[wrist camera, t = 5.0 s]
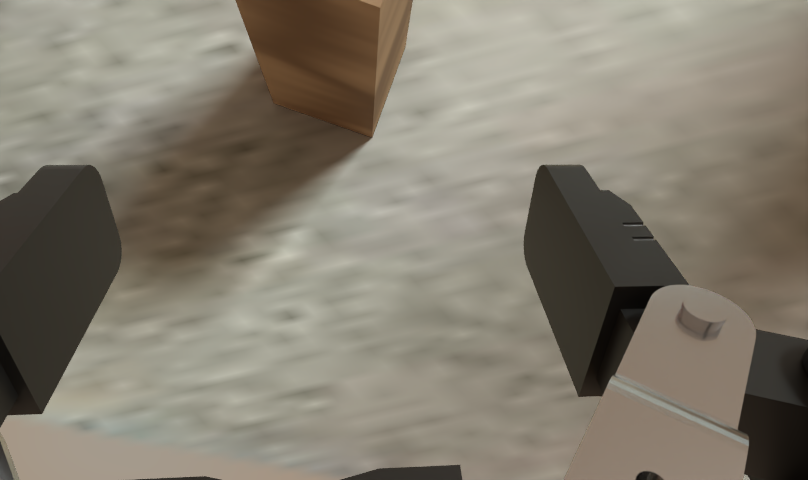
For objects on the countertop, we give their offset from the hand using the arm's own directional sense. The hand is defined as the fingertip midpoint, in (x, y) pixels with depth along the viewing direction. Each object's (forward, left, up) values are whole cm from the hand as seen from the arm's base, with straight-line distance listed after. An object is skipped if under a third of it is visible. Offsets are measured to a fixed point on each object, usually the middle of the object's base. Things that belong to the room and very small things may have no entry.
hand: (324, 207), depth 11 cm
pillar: (+3, -8, -13) cm, 16 cm away
